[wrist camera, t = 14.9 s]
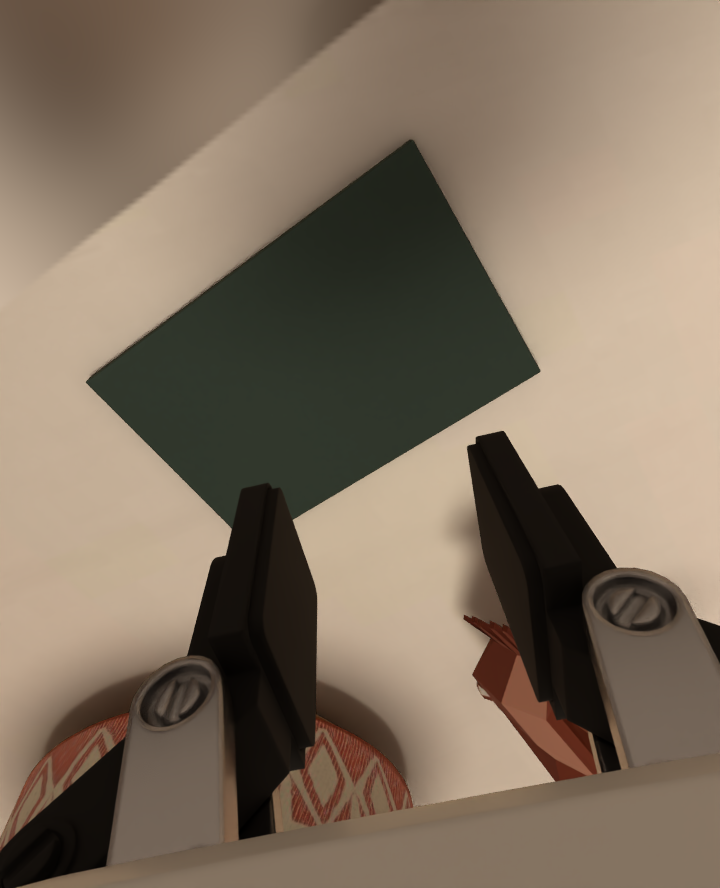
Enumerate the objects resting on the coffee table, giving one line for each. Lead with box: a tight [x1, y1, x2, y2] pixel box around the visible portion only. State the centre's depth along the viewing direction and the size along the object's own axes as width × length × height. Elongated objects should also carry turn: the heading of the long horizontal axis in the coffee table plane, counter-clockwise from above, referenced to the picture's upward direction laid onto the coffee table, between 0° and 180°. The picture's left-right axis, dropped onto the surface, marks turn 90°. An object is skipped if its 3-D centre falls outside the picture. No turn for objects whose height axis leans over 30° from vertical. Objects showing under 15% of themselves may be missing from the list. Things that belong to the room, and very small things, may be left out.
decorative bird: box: [464, 615, 597, 781], centre depth 32 cm, size 28×18×15 cm, turn 34°
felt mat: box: [86, 140, 540, 528], centre depth 28 cm, size 12×18×1 cm, turn 124°
